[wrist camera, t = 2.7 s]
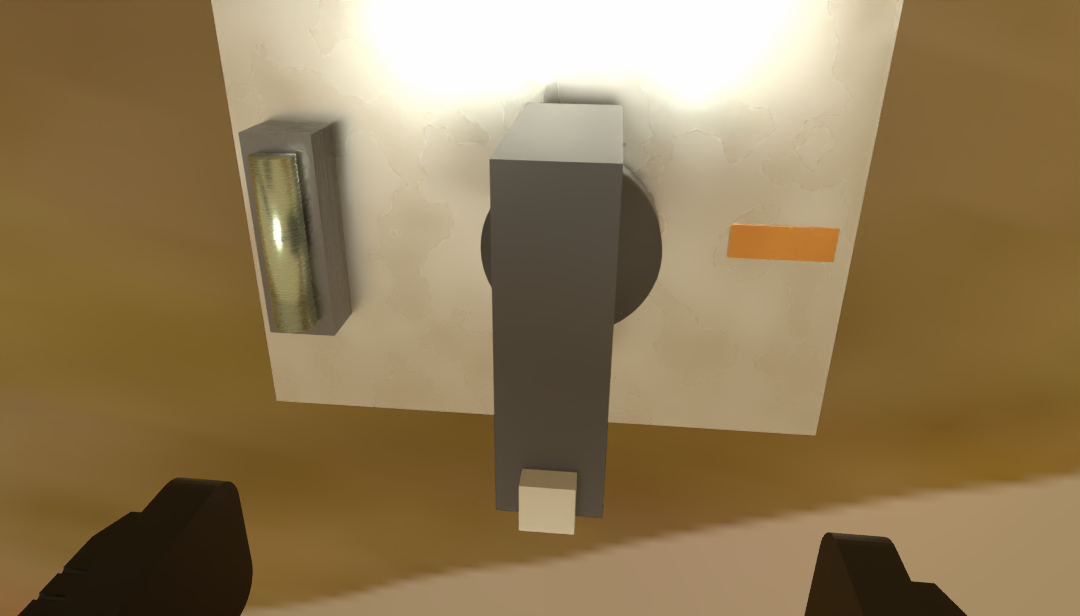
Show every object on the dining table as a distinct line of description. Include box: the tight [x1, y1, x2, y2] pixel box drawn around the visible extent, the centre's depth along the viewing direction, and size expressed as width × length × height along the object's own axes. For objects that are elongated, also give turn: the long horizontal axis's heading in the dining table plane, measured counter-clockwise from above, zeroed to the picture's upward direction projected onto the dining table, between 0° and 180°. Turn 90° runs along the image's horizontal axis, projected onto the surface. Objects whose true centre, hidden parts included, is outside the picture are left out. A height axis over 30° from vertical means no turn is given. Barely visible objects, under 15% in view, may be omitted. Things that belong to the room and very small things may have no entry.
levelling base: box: [211, 0, 903, 435], centre depth 22 cm, size 13×18×6 cm
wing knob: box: [480, 103, 662, 535], centre depth 18 cm, size 8×5×8 cm, turn 179°
